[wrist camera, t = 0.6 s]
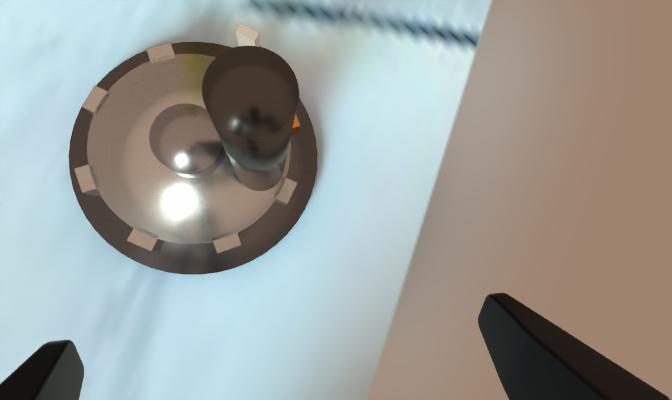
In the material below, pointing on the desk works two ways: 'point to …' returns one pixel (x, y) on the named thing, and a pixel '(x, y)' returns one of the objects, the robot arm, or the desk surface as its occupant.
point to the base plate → (204, 254)
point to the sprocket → (193, 145)
